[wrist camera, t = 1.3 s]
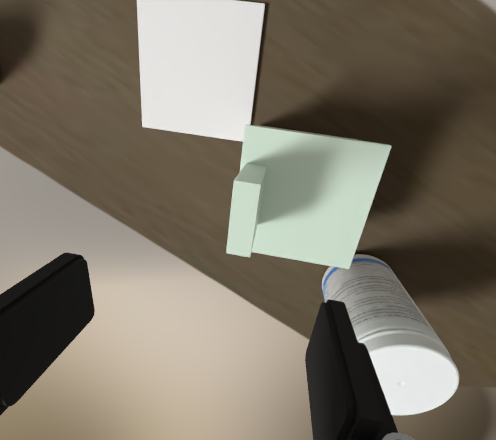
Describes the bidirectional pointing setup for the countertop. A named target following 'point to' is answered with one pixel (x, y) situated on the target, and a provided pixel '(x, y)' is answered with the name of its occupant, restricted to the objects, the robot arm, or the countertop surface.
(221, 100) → the mat
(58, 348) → the robot arm
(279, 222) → the lid
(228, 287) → the countertop surface
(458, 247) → the countertop surface
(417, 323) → the supplement tub
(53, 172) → the countertop surface
